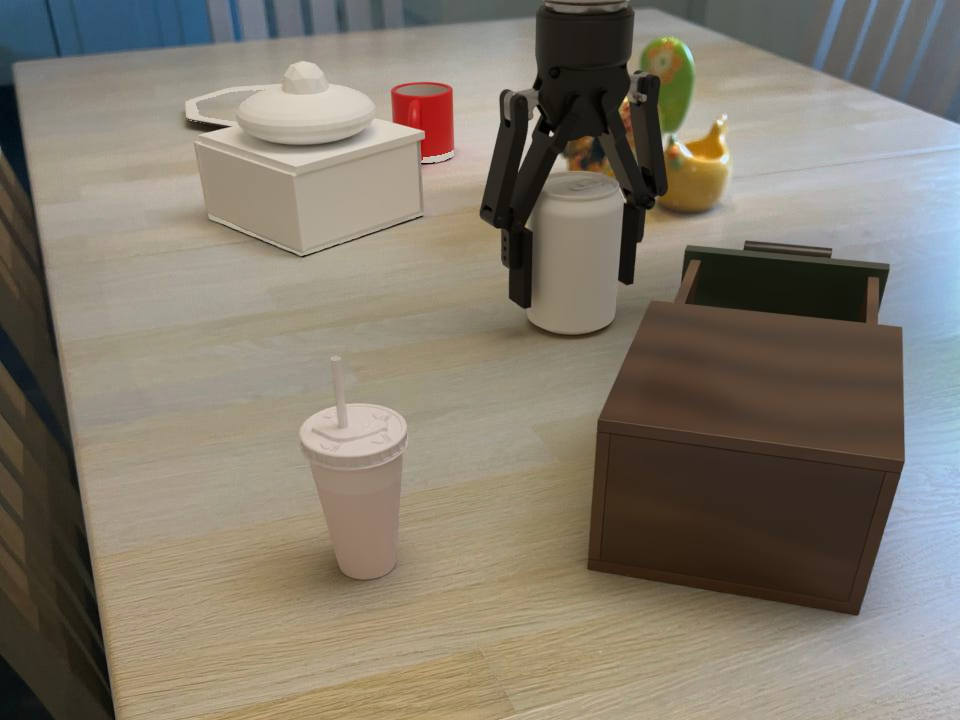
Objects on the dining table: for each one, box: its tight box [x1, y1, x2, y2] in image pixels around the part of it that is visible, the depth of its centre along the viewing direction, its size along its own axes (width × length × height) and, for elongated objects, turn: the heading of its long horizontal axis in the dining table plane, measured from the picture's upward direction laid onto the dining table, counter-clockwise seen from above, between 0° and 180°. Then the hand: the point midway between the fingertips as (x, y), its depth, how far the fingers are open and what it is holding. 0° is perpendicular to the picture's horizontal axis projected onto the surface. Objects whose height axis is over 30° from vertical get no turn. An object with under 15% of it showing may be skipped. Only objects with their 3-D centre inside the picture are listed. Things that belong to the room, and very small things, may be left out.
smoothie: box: [298, 355, 410, 581], centre depth 61 cm, size 6×6×14 cm
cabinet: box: [586, 300, 906, 616], centre depth 65 cm, size 18×17×11 cm
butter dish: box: [193, 60, 425, 253], centre depth 110 cm, size 18×18×16 cm
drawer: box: [673, 239, 891, 324], centre depth 78 cm, size 22×15×9 cm
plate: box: [184, 83, 282, 128], centre depth 150 cm, size 24×24×2 cm
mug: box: [390, 81, 455, 161], centre depth 129 cm, size 8×12×8 cm, turn 176°
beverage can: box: [526, 170, 625, 336], centre depth 89 cm, size 8×8×12 cm
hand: (571, 291), depth 91 cm, fingers open, 10 cm apart
